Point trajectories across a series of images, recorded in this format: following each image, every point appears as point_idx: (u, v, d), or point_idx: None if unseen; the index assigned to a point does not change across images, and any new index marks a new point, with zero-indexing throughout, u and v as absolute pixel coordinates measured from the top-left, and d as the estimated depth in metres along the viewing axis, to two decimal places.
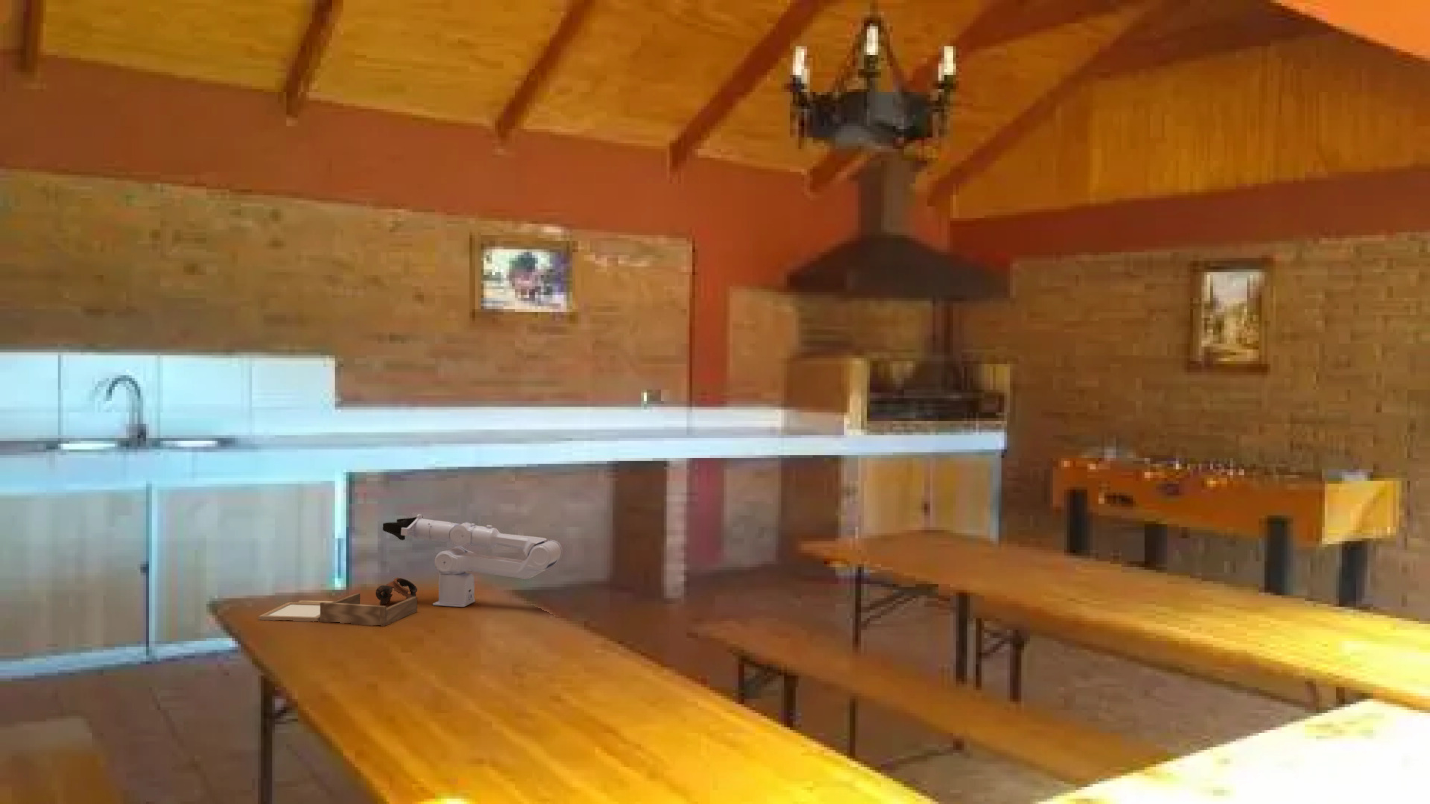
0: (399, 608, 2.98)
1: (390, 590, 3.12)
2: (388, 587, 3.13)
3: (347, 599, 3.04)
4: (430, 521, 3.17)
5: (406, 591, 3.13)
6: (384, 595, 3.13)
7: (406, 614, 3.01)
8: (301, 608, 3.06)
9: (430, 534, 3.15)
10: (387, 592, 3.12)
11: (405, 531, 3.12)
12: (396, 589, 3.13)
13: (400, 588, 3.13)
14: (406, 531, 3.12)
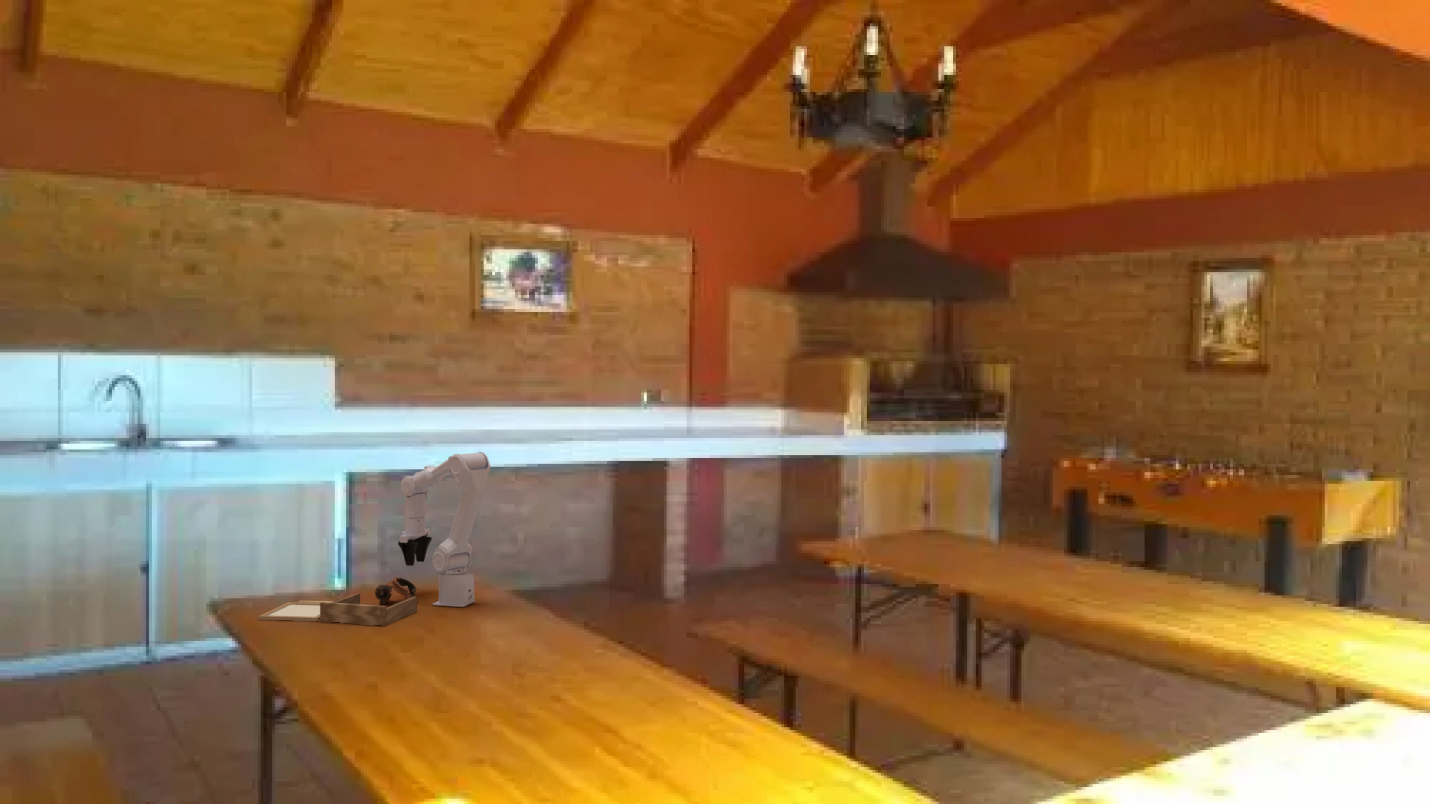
0: (399, 608, 2.98)
1: (389, 590, 3.13)
2: (387, 587, 3.13)
3: (347, 599, 3.04)
4: (405, 519, 3.26)
5: (405, 591, 3.13)
6: (383, 595, 3.13)
7: (406, 614, 3.01)
8: (301, 608, 3.06)
9: (409, 517, 3.24)
10: (386, 592, 3.12)
11: (402, 537, 3.20)
12: (395, 589, 3.13)
13: (399, 588, 3.13)
14: (402, 536, 3.20)
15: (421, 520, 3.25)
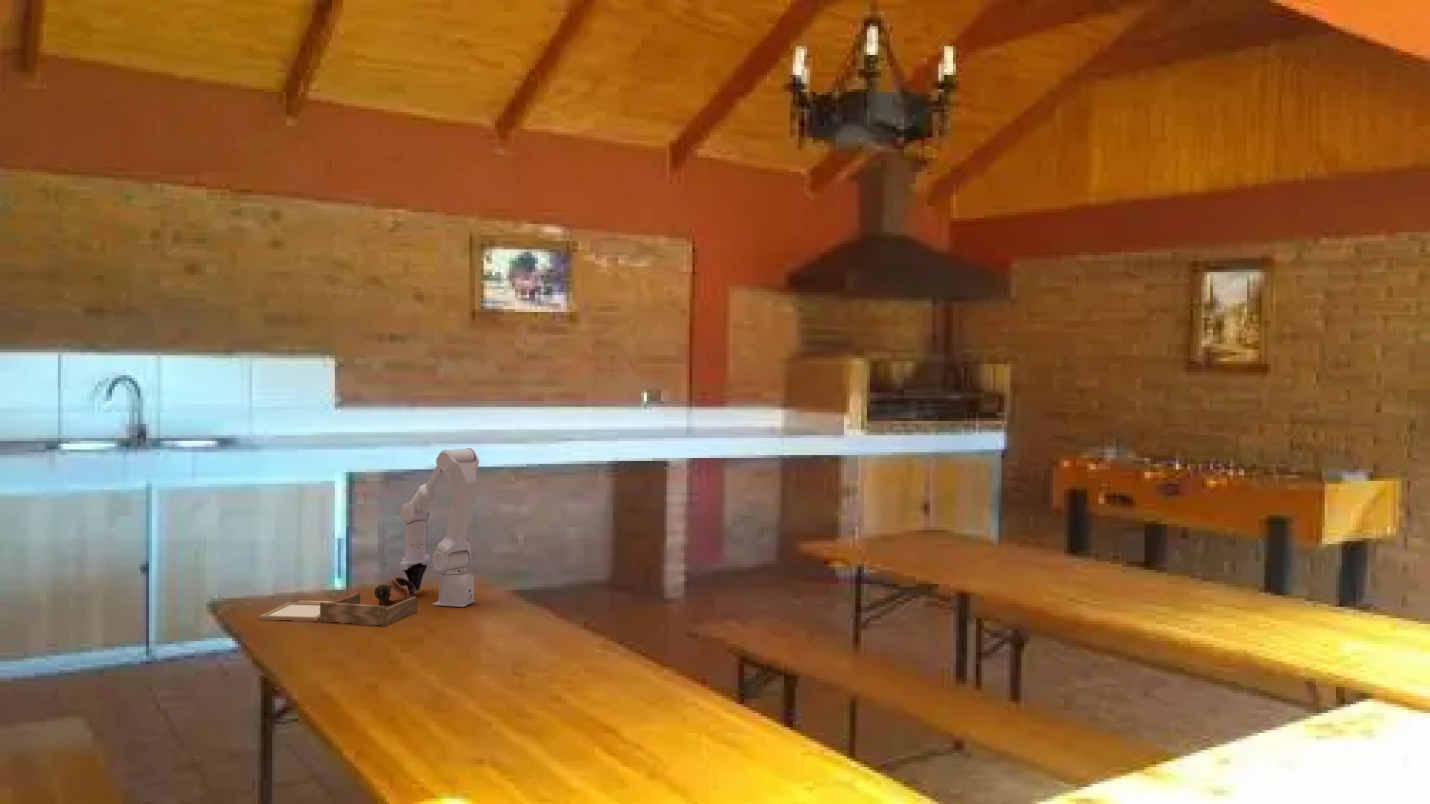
0: (399, 608, 2.98)
1: (389, 589, 3.13)
2: (387, 586, 3.13)
3: (347, 599, 3.04)
4: (405, 546, 3.26)
5: (405, 590, 3.14)
6: (383, 594, 3.14)
7: (406, 614, 3.01)
8: (301, 608, 3.06)
9: (409, 544, 3.24)
10: (386, 591, 3.13)
11: (402, 565, 3.20)
12: (395, 588, 3.13)
13: (398, 587, 3.14)
14: (402, 564, 3.20)
15: (421, 547, 3.25)
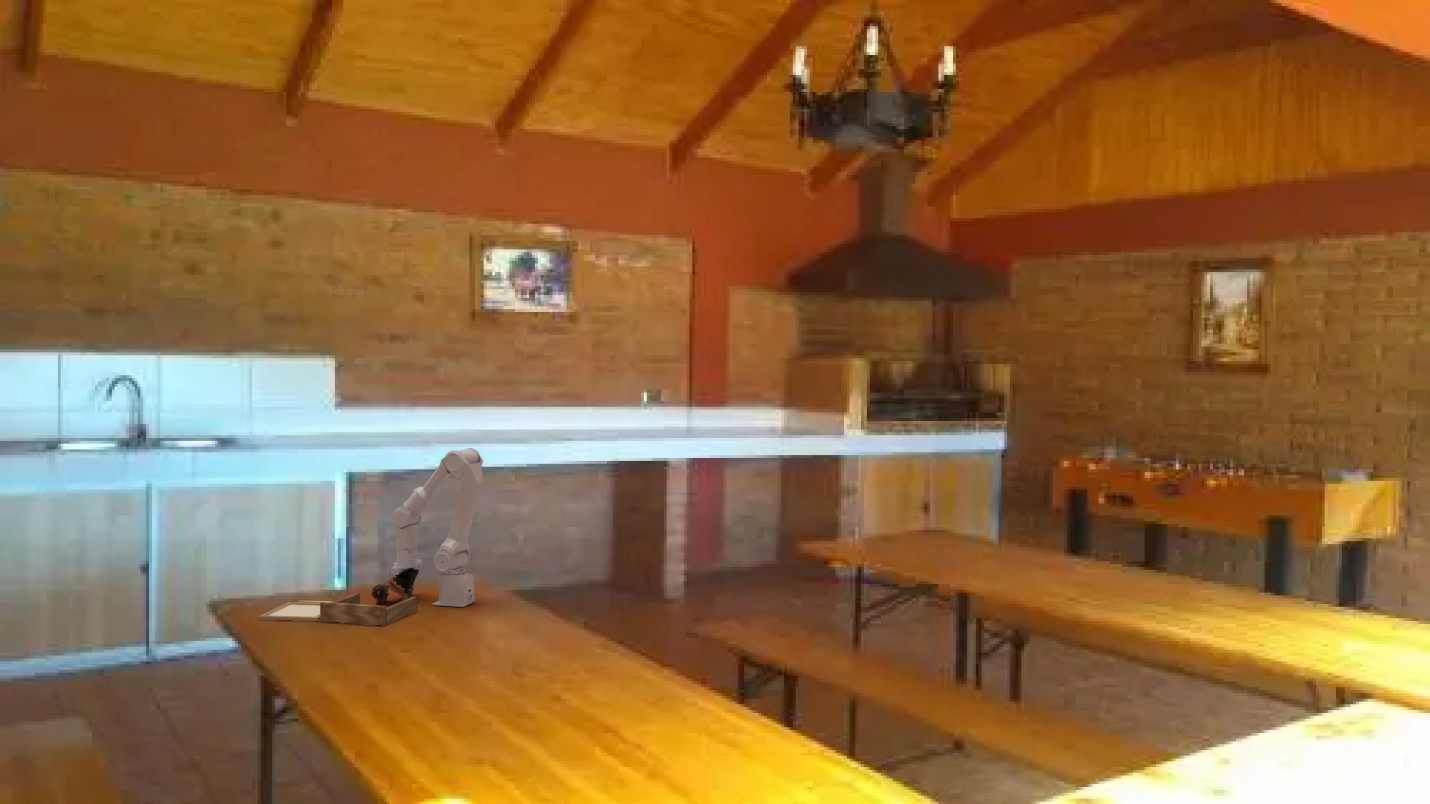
0: (399, 608, 2.98)
1: (386, 589, 3.13)
2: (384, 586, 3.13)
3: (347, 599, 3.04)
4: None
5: (402, 590, 3.13)
6: (380, 594, 3.13)
7: (406, 614, 3.01)
8: (301, 608, 3.06)
9: (403, 548, 3.19)
10: (383, 591, 3.12)
11: (393, 570, 3.15)
12: (392, 588, 3.13)
13: (396, 587, 3.13)
14: (393, 568, 3.15)
15: (413, 551, 3.20)
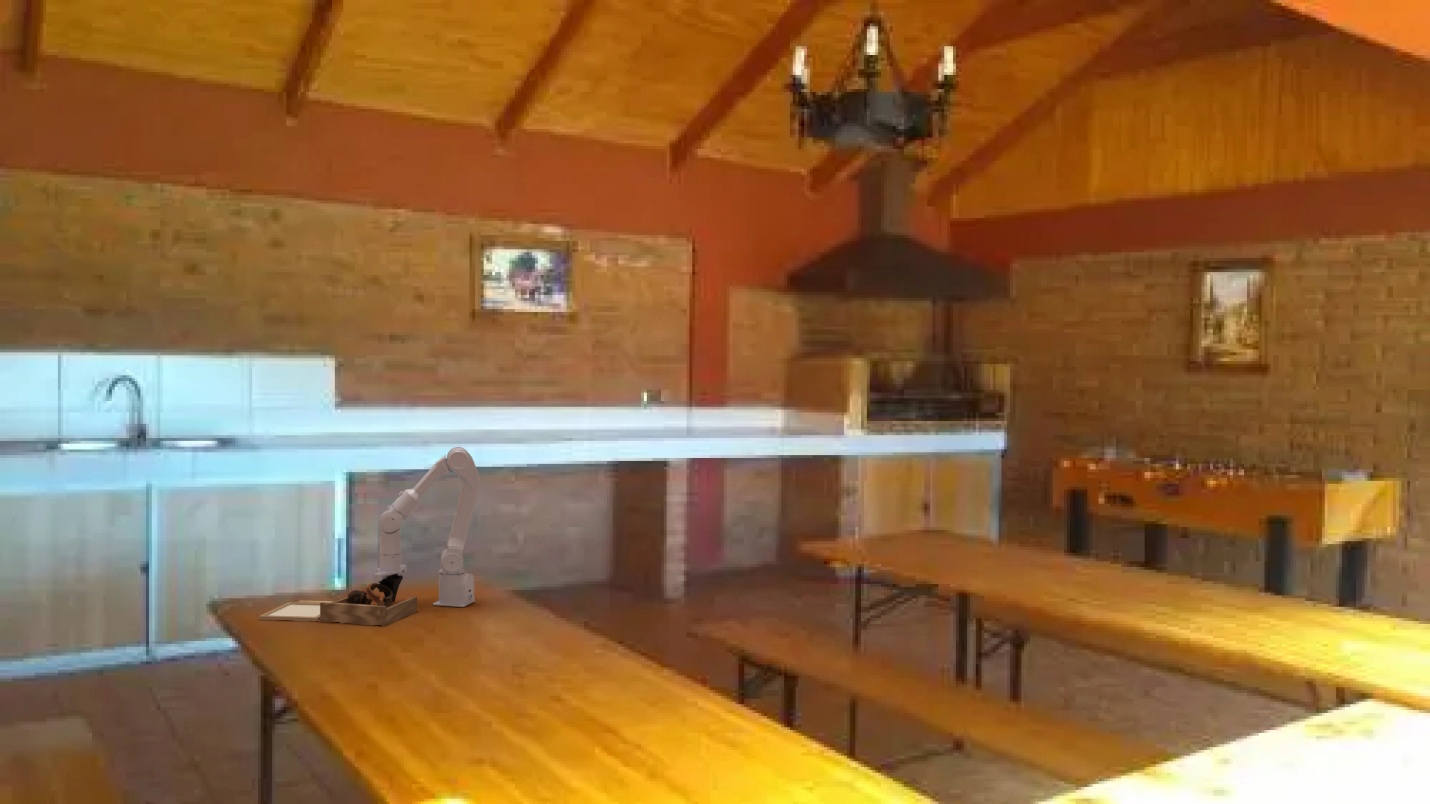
0: (399, 608, 2.98)
1: (362, 595, 3.04)
2: (360, 592, 3.05)
3: (347, 599, 3.04)
4: None
5: (377, 597, 3.04)
6: (357, 600, 3.05)
7: (406, 614, 3.01)
8: (301, 608, 3.06)
9: (392, 554, 3.10)
10: (359, 597, 3.04)
11: (376, 576, 3.06)
12: (368, 595, 3.04)
13: (371, 594, 3.04)
14: (376, 575, 3.06)
15: (396, 557, 3.11)
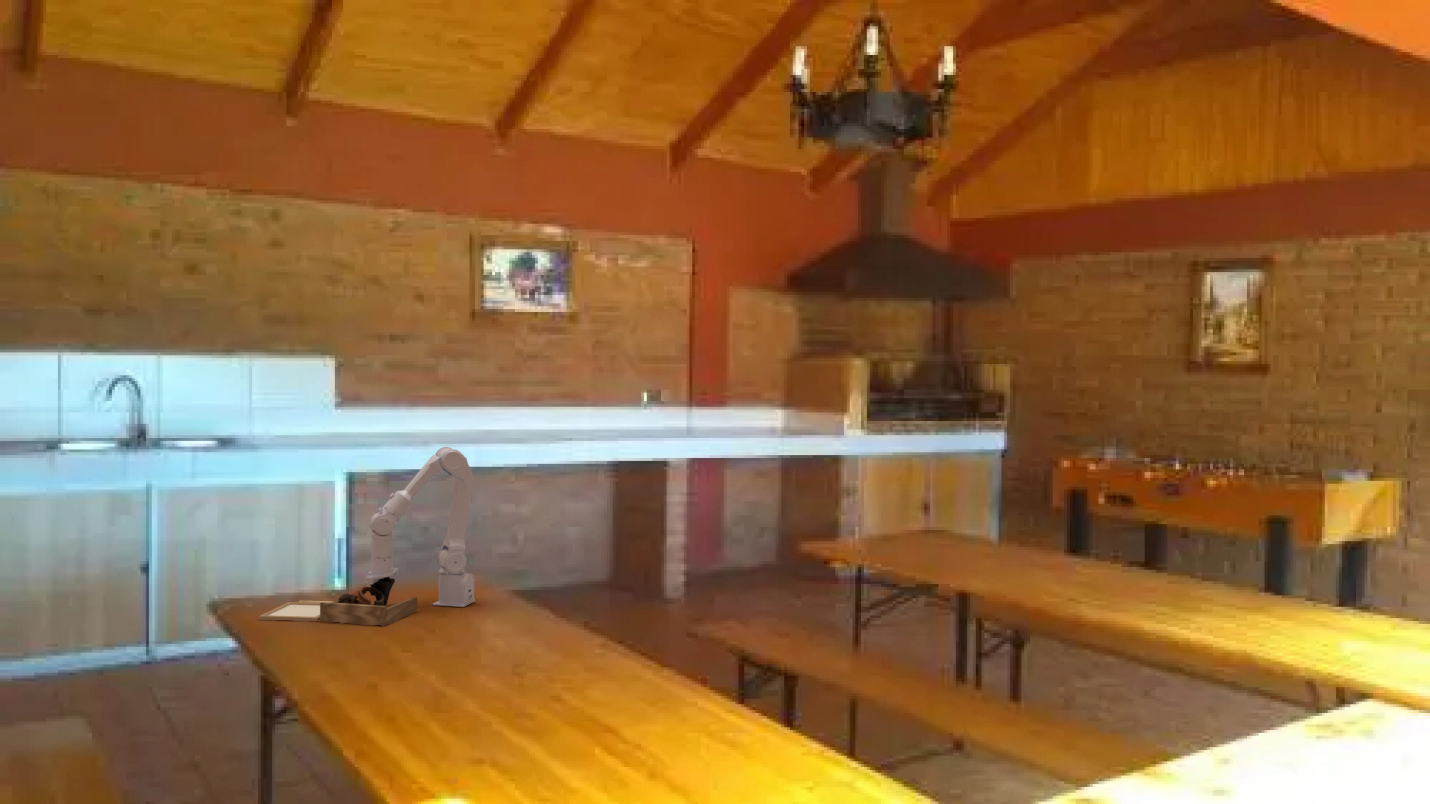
0: (399, 608, 2.98)
1: (352, 599, 3.00)
2: (351, 596, 3.00)
3: None
4: (371, 559, 3.08)
5: (368, 601, 2.99)
6: None
7: (406, 614, 3.01)
8: (301, 608, 3.06)
9: (386, 556, 3.06)
10: (349, 601, 3.00)
11: (367, 579, 3.01)
12: (358, 598, 3.00)
13: (362, 598, 2.99)
14: (367, 578, 3.01)
15: (388, 560, 3.07)
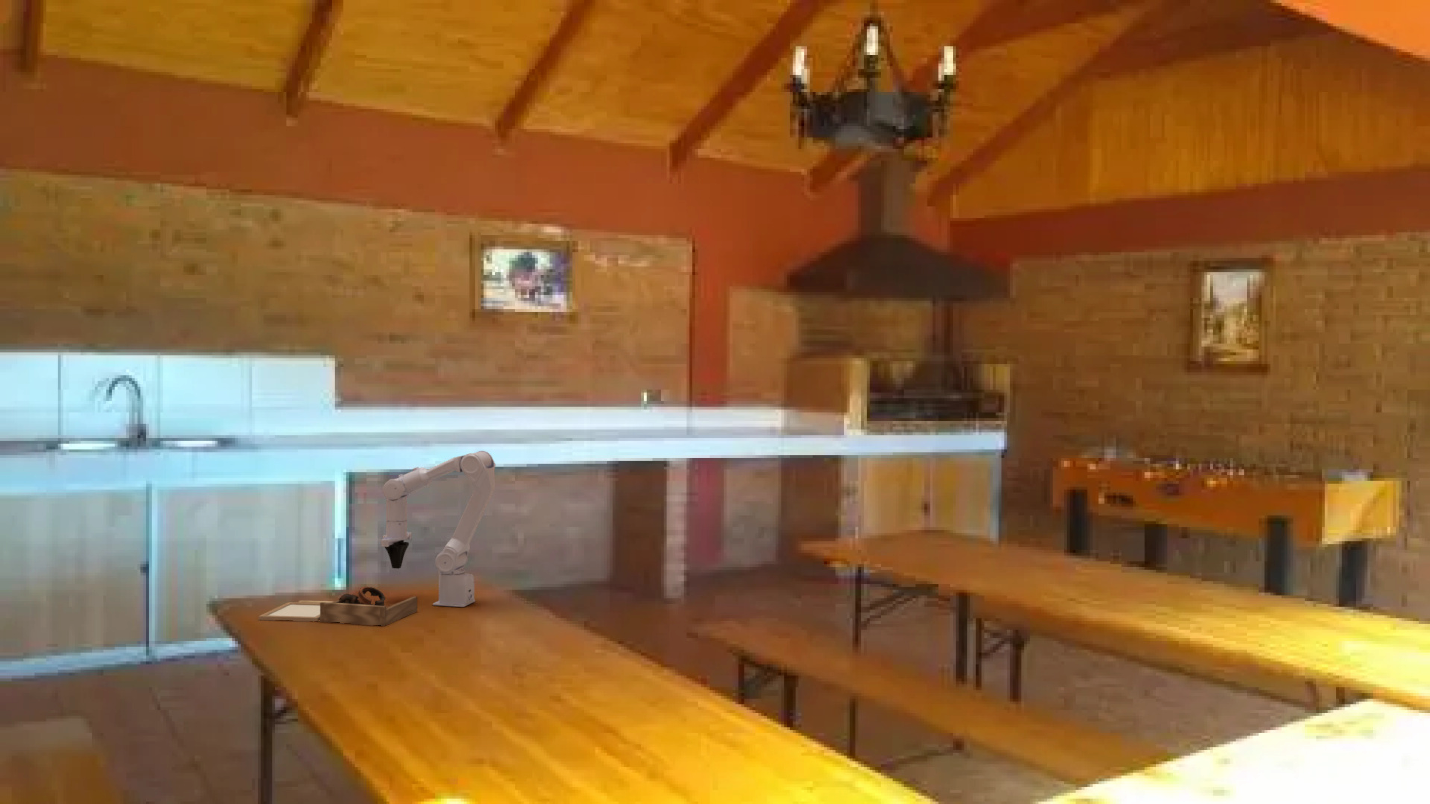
0: (399, 608, 2.98)
1: (353, 599, 3.00)
2: (352, 596, 3.00)
3: None
4: (386, 523, 3.18)
5: (369, 601, 3.00)
6: None
7: (406, 614, 3.01)
8: (301, 608, 3.06)
9: (394, 520, 3.16)
10: (350, 601, 3.00)
11: (383, 541, 3.12)
12: (359, 598, 3.00)
13: (362, 598, 3.00)
14: (383, 540, 3.12)
15: (403, 524, 3.17)
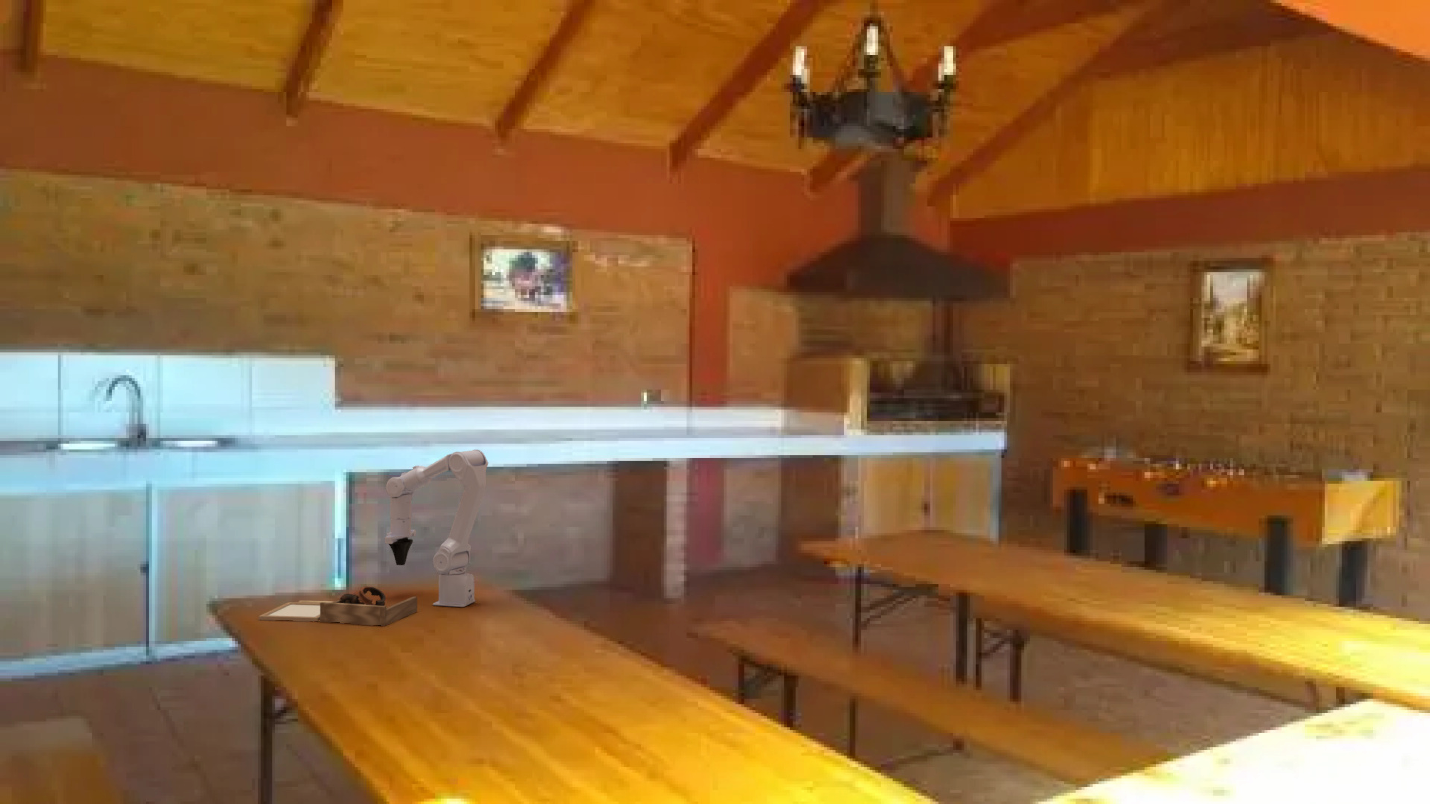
0: (399, 608, 2.98)
1: (354, 599, 3.00)
2: (352, 596, 3.01)
3: None
4: None
5: (370, 601, 3.00)
6: None
7: (406, 614, 3.01)
8: (301, 608, 3.06)
9: (396, 518, 3.21)
10: (351, 601, 3.00)
11: (387, 539, 3.17)
12: (360, 598, 3.00)
13: (363, 597, 3.00)
14: (387, 538, 3.17)
15: (406, 521, 3.23)
